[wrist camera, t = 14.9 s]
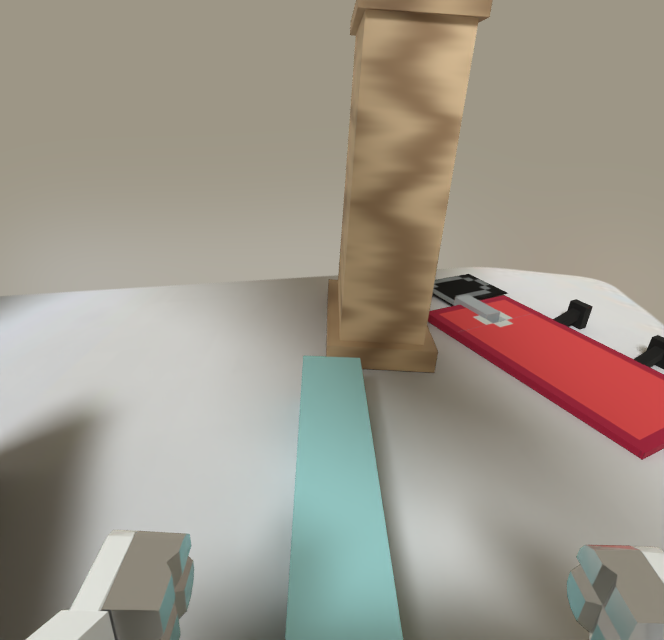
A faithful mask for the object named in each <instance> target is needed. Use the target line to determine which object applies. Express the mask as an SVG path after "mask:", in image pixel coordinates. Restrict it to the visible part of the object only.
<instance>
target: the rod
mask: <svg viewBox="0 0 664 640" xmlns="http://www.w3.org/2000/svg"><path fill="white" fill-rule="evenodd" d="M285 640H403V635H402V629H401V622H400V616H399V609H398V603H397V596H396V590H395V583H394V577H393V570H392V563H391V557H390V550H389V544H388V537H387V531H386V524H385V518H384V511H383V505H382V498H381V491H380V485H379V478H378V472H377V465H376V459H375V452H374V446H373V439H372V432H371V426H370V419H369V413H368V406H367V400H366V393H365V387H364V380H363V374H362V367H361V360H360V358H349V357H324V356H303V369H302V385H301V400H300V416H299V431H298V447H297V462H296V478H295V494H294V509H293V525H292V540H291V556H290V571H289V587H288V602H287V618H286V634H285Z"/></svg>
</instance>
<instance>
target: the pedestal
mask: <svg viewBox="0 0 664 640" xmlns="http://www.w3.org/2000/svg"><path fill="white" fill-rule="evenodd" d="M491 6H492V0H356V3H355V7H354V11H353V15H352V19H351V27H350V35H355V36H356V41H355V56H354V69H353V82H352V83H353V84H352V96H351V111H350V124H349V138H348V152H347V166H346V180H345V193H344V208H343V221H342V234H341V249H340V262H339V276H338V280H330V279H329V284H328V306H327V347H326V357H349V358H360V360H361V367H362V369H376V370H395V371H414V372H432V373H434V371H435V366H436V360H437V355H438V350H437V348H436V345H435V343H434V341H433V338H432V336H431V333H430V331H429V328H428V326H427V322H428V316H429V311H430V305H431V299H432V293H433V287H434V281H435V275H436V269H437V263H438V257H439V251H440V245H441V240H442V234H443V228H444V221H445V216H446V210H447V204H448V198H449V192H450V186H451V180H452V174H453V168H454V163H455V157H456V150H457V145H458V139H459V133H460V127H461V121H462V115H463V109H464V103H465V97H466V91H467V86H468V79H469V74H470V68H471V62H472V55H473V50H474V44H475V38H476V32H477V26H478V23H479V22H481V21H483V20H485V19H487V18H489V17H490V11H491Z"/></svg>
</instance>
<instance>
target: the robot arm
mask: <svg viewBox="0 0 664 640" xmlns="http://www.w3.org/2000/svg"><path fill="white" fill-rule="evenodd" d="M190 548H191V540H190V534H183V533H166V532H149V531H128V530H113V531H112V532H111V533H110V534H109V535H108V536H107V537H106V539H105V541H104V543H103V545H102V547H101V549H100V551H99V553H98V555H97V557H96V559H95V561H94V563H93V565H92V567H91V569H90V571H89V573H88V575H87V576H86V578H85V580H84V582H83V584H82V586H81V588H80V590H79V592H78V594H77V596H76V598H75V600H74V602H73V604H72V606H71V608H70V610H61V611H59V612H58V613H57V614H56V615H55V616H53V617H52V618H51V619H50V620H48V621H47V622H46V623H45V624H44V625H42V626H41V627H40V628H39V629H37V630H36V631H35V632H34V633H33V634H31V635H30V636H29V637H28V638H27V639H25V640H179V638H180V627H179V619H180V618H181V617H182V616H183V615H184V614H185V613H186V612H187V609H188V605H189V601H190V598H191V592H192V586H193V579H194V565H193V560H192V559H191V558H190V557H189V556H188V555H189V551H190ZM577 559H578V561H579V563H580V565H579V566H577V567H576V568H575V569H573V570H572V571H570V574H569V577H568V580H567V597H568V600H569V604H570V607H571V610H572V612H573V614H574V616H575V618H576V621H577V622H578V623H579V624H580V625H582V626H583V627H584V628H585V629H586V630H587V631H588V632H589V633H590V635H589V640H664V551H663V550H662V549H660V548H659V547H640V546H622V545H585V546H583V547H582V548H580V550H579V552H578V554H577Z"/></svg>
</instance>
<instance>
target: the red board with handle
mask: <svg viewBox="0 0 664 640" xmlns="http://www.w3.org/2000/svg"><path fill="white" fill-rule="evenodd" d="M433 293H434V294H436V295H437V296H439V297H441V298H442V299H444V300H446V301H448V302H449V303H451V304H453V305H454V306H451V307H447V308H442V309H437V310H433V311H429V316H428V322H429V323H431V324H432V325H434V326H435V327H437V328H438V329H440V330H442V331H443V332H445V333H446V334H448V335H449V336H451V337H452V338H454V339H456V340H457V341H459V342H460V343H462V344H463V345H465V346H466V347H468V348H470V349H471V350H473V351H474V352H476V353H477V354H479V355H480V356H482V357H484V358H485V359H487V360H488V361H490V362H491V363H493V364H494V365H496V366H498V367H499V368H501V369H502V370H504V371H505V372H507V373H508V374H510V375H512V376H513V377H515V378H516V379H518V380H519V381H521V382H522V383H524V384H526V385H527V386H529V387H530V388H532V389H533V390H535V391H536V392H538V393H540V394H541V395H543V396H544V397H546V398H547V399H549V400H550V401H552V402H554V403H555V404H557V405H558V406H560V407H561V408H563V409H564V410H566V411H568V412H569V413H571V414H572V415H574V416H575V417H577V418H578V419H580V420H582V421H583V422H585V423H586V424H588V425H589V426H591V427H592V428H594V429H596V430H597V431H599V432H600V433H602V434H603V435H605V436H606V437H608V438H610V439H611V440H613V441H614V442H616V443H617V444H619V445H620V446H622V447H624V448H625V449H627V450H628V451H630V452H631V453H633V454H634V455H636V456H638V457H639V458H641V459H642V460H643V459H645V458H646V457H648V456H650V455H652V454H654V453H656V452H658V451H660V450H662V449H664V374H662V373H660V372H658V371H656V370H654V369H652V368H650V367H652V366H653V365H656V366H658V367H660V368H662V369H664V338H663V337H661V336H659V335H657V336H654V337H652V339H651V341H650V344H649V346H648V348H647V351H646V352H644V353H643V354H641V355H640V356H638V357H637V358H635V359H634V360H633V359H631V358H629V357H627V356H625V355H623V354H621V353H619V352H617V351H615V350H613V349H611V348H609V347H607V346H605V345H603V344H601V343H599V342H597V341H595V340H593V339H591V338H589V337H587V336H585V335H583V334H581V333H579V332H577V331H575V330H573V329H571V328H569V327H567V326H569V325H572V326H574V327H576V328H578V329H583V328H585V327H586V324H587V321H588V318H589V315H590V313H591V310H592V306H590V305H588V304H586V303H583V302H581V301H579V300H572V301H570V304H569V307H568V311H567V312H565V313H563V314H562V315H560V316H558V317H556V318H554V319H551V318H549V317H547V316H545V315H543V314H541V313H539V312H537V311H535V310H533V309H531V308H529V307H527V306H525V305H523V304H521V303H519V302H517V301H515V300H513V299H511V298H509V297H507V296H505V295H503V294H507V292H505V291H503V290H501V289H499V288H496V287H494V286H492V285H490V284H488V283H486V282H484V281H482V280H480V279H478V278H476V277H474V276H472V275H470V274H466V275H460V276H455V277H449V278H443V279H438V280H435V281H434V287H433ZM498 295H502V296H498ZM493 296H498V297H493ZM489 297H493V298H489ZM484 298H488V299H484ZM479 299H484V300H479Z"/></svg>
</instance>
